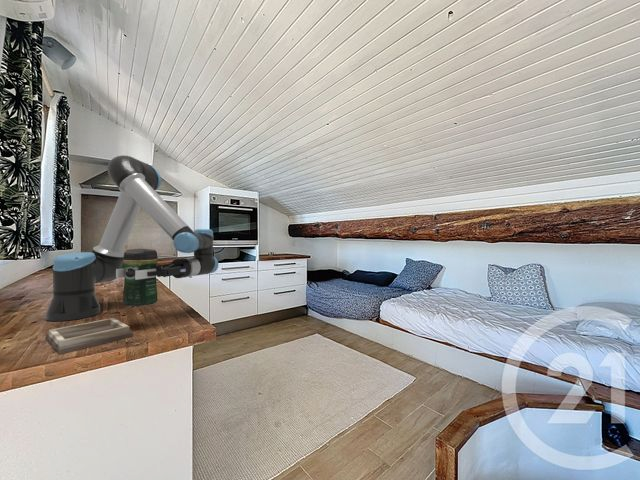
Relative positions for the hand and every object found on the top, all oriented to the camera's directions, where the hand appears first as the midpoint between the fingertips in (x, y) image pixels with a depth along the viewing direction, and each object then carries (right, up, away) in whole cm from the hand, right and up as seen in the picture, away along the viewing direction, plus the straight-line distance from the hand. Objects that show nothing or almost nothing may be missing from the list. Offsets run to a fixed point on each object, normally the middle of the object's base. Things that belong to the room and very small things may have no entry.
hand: (126, 274), depth 86 cm
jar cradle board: (-6, -18, -6) cm, 20 cm away
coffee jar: (+2, -11, +4) cm, 12 cm away
